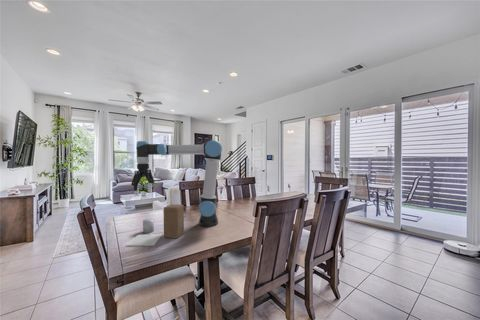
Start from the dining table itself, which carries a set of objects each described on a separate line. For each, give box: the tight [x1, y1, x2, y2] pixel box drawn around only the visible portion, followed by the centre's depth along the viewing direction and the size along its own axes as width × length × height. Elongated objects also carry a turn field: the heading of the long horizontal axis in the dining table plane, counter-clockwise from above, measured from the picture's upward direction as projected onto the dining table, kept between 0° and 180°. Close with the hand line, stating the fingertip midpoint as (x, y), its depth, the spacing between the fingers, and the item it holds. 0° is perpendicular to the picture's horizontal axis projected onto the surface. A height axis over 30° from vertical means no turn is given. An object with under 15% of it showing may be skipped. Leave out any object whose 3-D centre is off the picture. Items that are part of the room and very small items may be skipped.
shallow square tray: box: [125, 233, 163, 247], centre depth 129 cm, size 16×16×1 cm
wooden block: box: [163, 203, 185, 239], centre depth 137 cm, size 10×10×20 cm
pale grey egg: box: [142, 218, 155, 234], centre depth 144 cm, size 7×7×8 cm
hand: (143, 193), depth 143 cm, fingers open, 13 cm apart
